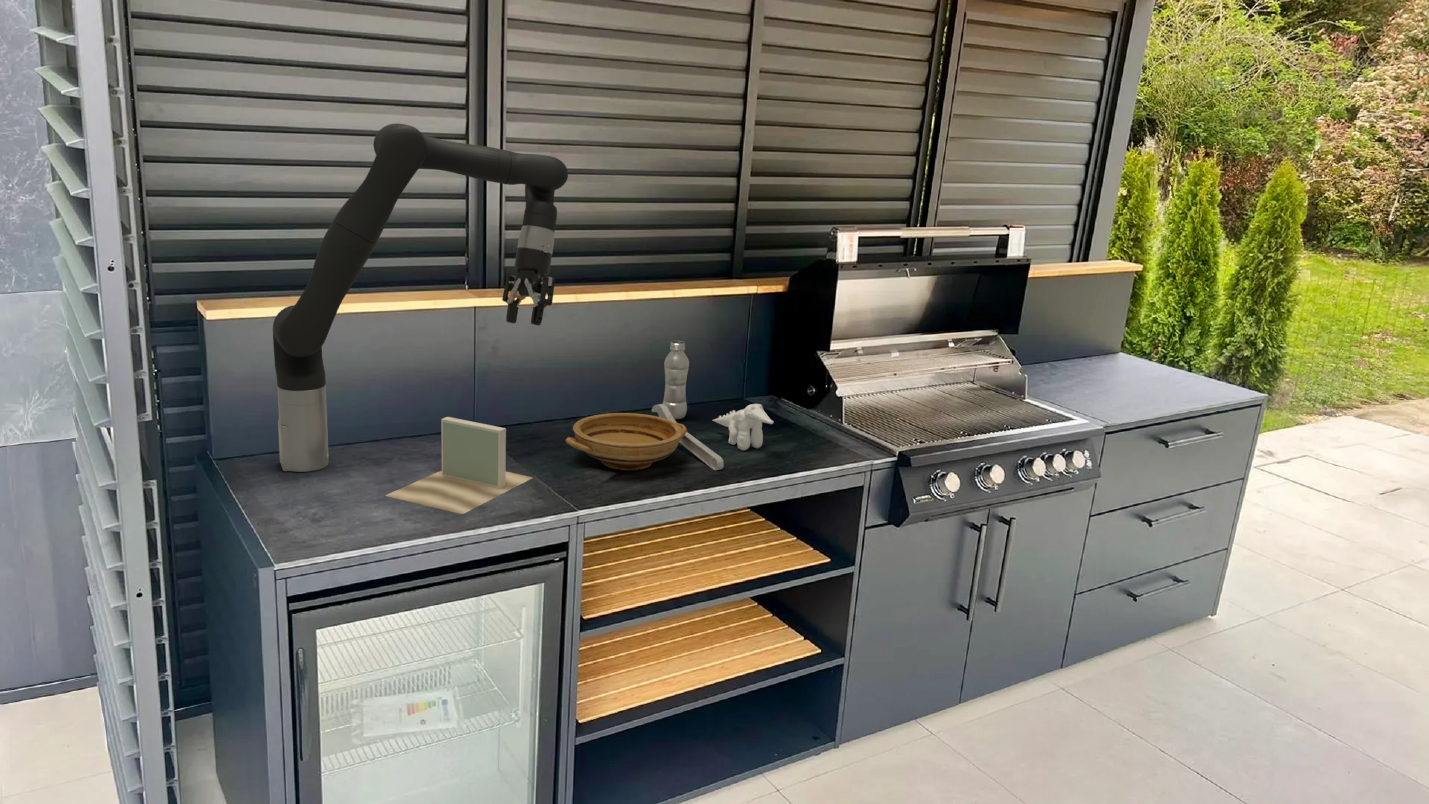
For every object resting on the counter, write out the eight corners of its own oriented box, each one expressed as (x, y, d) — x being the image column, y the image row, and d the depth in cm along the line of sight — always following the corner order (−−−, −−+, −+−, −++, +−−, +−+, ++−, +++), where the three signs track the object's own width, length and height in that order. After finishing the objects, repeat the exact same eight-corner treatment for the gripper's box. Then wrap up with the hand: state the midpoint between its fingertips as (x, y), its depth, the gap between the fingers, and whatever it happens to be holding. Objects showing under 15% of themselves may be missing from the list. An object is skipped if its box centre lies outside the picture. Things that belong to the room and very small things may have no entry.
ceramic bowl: (654, 438, 251) (656, 406, 249) (712, 469, 232) (714, 434, 230) (542, 455, 234) (542, 420, 232) (594, 489, 215) (595, 452, 213)
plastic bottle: (687, 416, 271) (692, 340, 266) (684, 423, 265) (688, 346, 260) (663, 413, 272) (667, 338, 267) (659, 421, 265) (663, 343, 260)
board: (462, 521, 194) (462, 514, 194) (384, 502, 201) (384, 495, 201) (533, 484, 216) (533, 477, 215) (461, 468, 222) (461, 461, 222)
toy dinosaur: (760, 458, 239) (761, 410, 237) (700, 439, 258) (700, 394, 256) (783, 454, 243) (784, 407, 241) (723, 435, 262) (723, 392, 260)
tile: (441, 475, 213) (440, 419, 210) (447, 472, 215) (447, 416, 212) (499, 488, 208) (499, 431, 205) (505, 485, 210) (505, 428, 207)
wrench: (714, 483, 232) (648, 431, 255) (721, 482, 233) (655, 430, 256) (719, 450, 229) (652, 400, 252) (726, 449, 230) (658, 400, 253)
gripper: (501, 245, 228) (489, 319, 228) (542, 245, 219) (530, 322, 218) (528, 253, 234) (516, 325, 233) (569, 253, 224) (557, 328, 224)
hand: (523, 323), depth 226 cm, fingers open, 8 cm apart
